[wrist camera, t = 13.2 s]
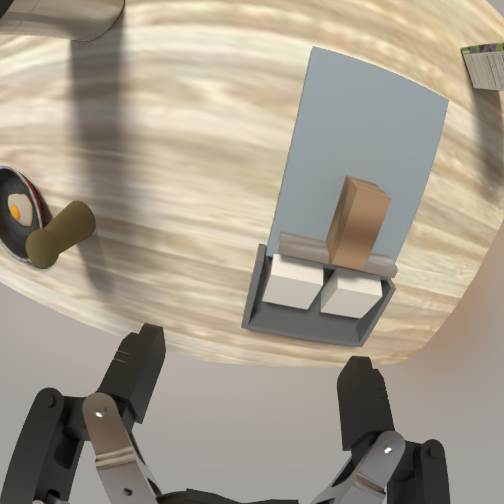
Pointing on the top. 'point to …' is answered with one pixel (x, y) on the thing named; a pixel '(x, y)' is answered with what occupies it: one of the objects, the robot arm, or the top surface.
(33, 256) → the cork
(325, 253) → the scraper
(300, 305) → the tile
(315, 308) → the tray
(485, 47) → the syrup box
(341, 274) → the tile
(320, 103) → the board
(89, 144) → the top surface
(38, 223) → the frying pan
